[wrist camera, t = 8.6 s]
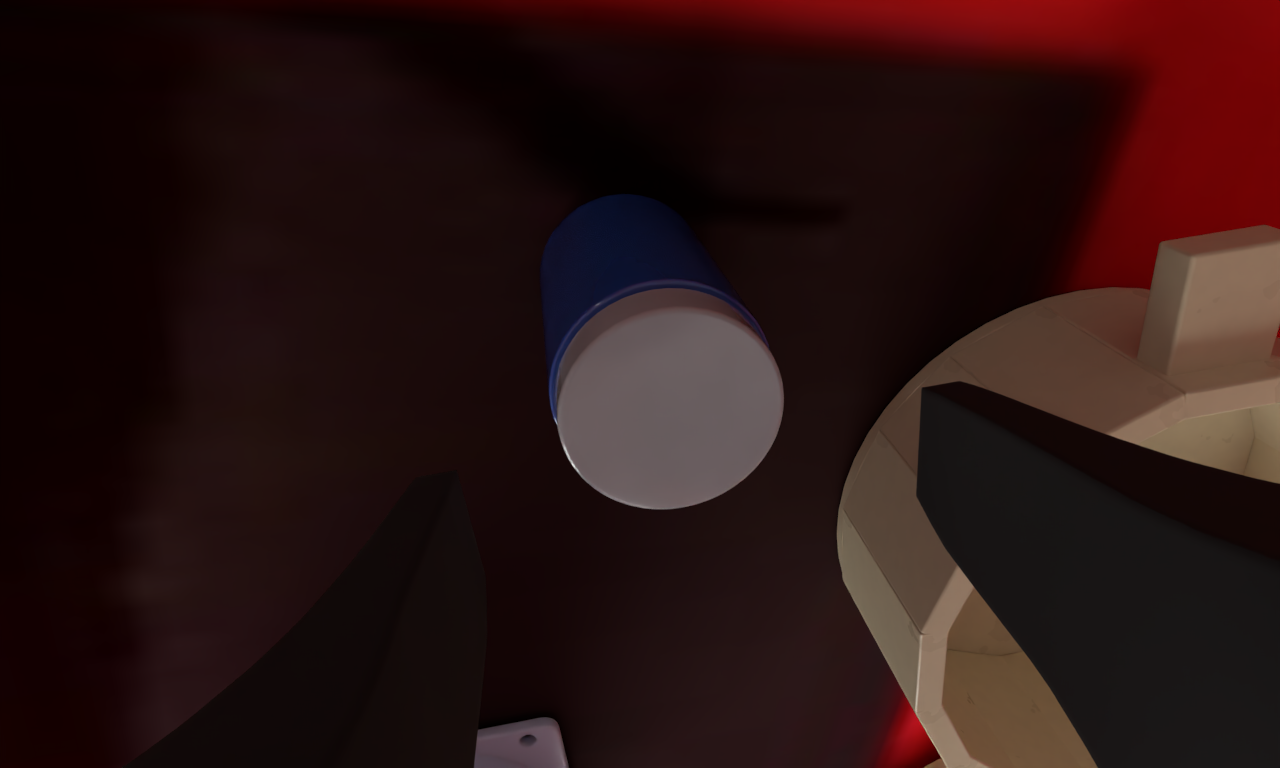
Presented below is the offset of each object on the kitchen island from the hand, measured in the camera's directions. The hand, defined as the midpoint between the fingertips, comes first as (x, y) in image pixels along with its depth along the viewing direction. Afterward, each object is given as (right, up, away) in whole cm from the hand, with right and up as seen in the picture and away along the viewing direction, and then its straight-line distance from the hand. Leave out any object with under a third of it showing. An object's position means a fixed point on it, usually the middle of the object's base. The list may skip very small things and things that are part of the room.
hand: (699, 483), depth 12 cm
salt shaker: (-1, +4, +7) cm, 8 cm away
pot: (+12, -2, +12) cm, 17 cm away
